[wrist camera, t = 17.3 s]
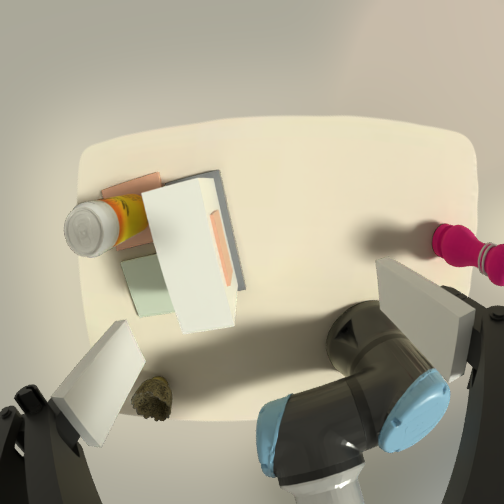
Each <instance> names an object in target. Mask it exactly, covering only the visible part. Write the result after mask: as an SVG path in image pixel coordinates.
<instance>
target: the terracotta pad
mask: <svg viewBox="0 0 504 504" xmlns="http://www.w3.org/2000/svg"><path fill="white" fill-rule="evenodd" d="M161 187H162V184H161V179H160V174H159V172H156V173H153V174H150V175H146V176H143V177H140V178H137V179H134V180H131V181H127V182H124V183H121V184H119V185H116V186H113V187H110V188H107V189H104V190H102V195H103V199H104V198H110V197H115V196H121V195H127V194H137V195H140V196H141V197H142V194H141V193H144V192H147V191H150V190H154V189H157V188H161ZM151 242H153V238H152V234H151V230H150V227H149V224H148V226H147V227H146V229H145V230H144V231H142V232H140V233H138V234H137V235H135V236H133V237H131V238H129V239H127V240H126V241H124V242H122V243H120V244H118V245H117V246H116V250H117V251H118V250H122V249H126V248H130V247H134V246H138V245H142V244H146V243H151Z"/></svg>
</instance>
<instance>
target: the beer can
mask: <svg viewBox="0 0 504 504" xmlns="http://www.w3.org/2000/svg"><path fill="white" fill-rule="evenodd" d="M148 224H149V223H148V219H147V215H146V211H145V207H144V202H143V198H142V197H141V196H140V195H137V194H127V195H121V196H115V197H110V198H104V199H99V200H94V201H88V202H83V203H80V204H78V205H77V206H76V207H74V209H73V210H72V211H71V212H70V213H69V215H68V216H67V218H66V220H65V225H64V235H65V239H66V241H67V244H68V246H69V247H70V249H71V250H72V251H73V252H74V253H76V254H77V255H79V256H83V257H89V258H93V257H97V256H99V255H101V254H103V253H104V252H106V251H108V250H110V249H111V248H113V247H115V246H117V245H118V244H120V243H122V242H124V241H126V240H127V239H129V238H131V237H133V236H135V235H137V234H138V233H140V232H142V231H144V230H145V229H146V227H147V226H148Z"/></svg>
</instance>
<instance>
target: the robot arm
mask: <svg viewBox="0 0 504 504" xmlns="http://www.w3.org/2000/svg"><path fill="white" fill-rule="evenodd" d="M376 269H377V279H378V289H379V301H367V302H363V303H360V304H358V305H355V306H353V307H352V308H350V309H349V310H347V311H346V312H344V313H343V314H342V315H341V316H340V317H339V318H338V319H337V321H336V322H335V323H334V325H333V326H332V328H331V330H330V332H329V334H328V338H327V343H326V348H327V353H328V356H329V358H330V361H331V363H332V365H333V366H334V367H335V368H336V369H337V370H338V371H339V372H340V373H342V374H343V375H344V376H345V378H342V379H339V380H337V381H334V382H331V383H328V384H325V385H322V386H319V387H316V388H313V389H310V390H306V391H303V392H300V393H297V394H293V393H292V394H289V395H287V397H283V398H280V399H277V400H274V401H271V402H268V403H267V404H265V405H264V406H263V407H262V409H261V410H260V412H259V415H258V419H257V427H256V445H257V453H258V459H259V462H260V463H261V468H262V471H263V473H264V474H265V475H266V476H268V477H272V478H275V477H278V481H279V485H280V488H281V489H284V490H286V491H287V492H289V493H291V494H292V495H294V497H295V501H296V504H365V503H364V499H363V495H362V492H361V488H360V485H359V481H358V475H359V473H360V472H361V470H362V468H363V467H364V465H365V461H364V457H363V454H362V452H363V451H366V450H368V449H371V448H373V447H375V446H378V445H379V447H380V448H381V449H382V450H384V451H385V452H388V453H393V452H394V451H396V452H399V451H401V450H404V449H406V448H408V447H410V446H412V445H413V444H415V443H417V442H418V441H419V440H421V439H422V438H423V437H424V436H426V435H427V434H428V433H429V432H430V431H431V430H432V429H433V428H434V427H435V426H436V424H437V423H438V422H439V421H440V419H441V418H442V417H443V415H444V413H445V411H446V409H447V407H448V404H449V401H450V389H449V386H448V385H447V383H446V381H447V382H448V383H450V382H452V381H453V380H455V379H457V378H459V377H460V376H462V375H464V372H465V368H466V363H467V362H468V363H469V364H470V365H471V366H472V367H473V368H472V372H471V376H470V379H469V383H468V386H467V389H469V397H468V405H467V412H466V417H465V423H464V428H463V433H462V438H461V442H460V446H459V450H458V454H457V458H456V462H455V465H454V469H453V472H452V475H451V479H450V482H449V485H448V487H447V490H446V493H445V496H444V499H443V501H442V504H504V306H491V307H489V308H485V307H484V306H482V305H480V304H479V303H477V302H476V301H474V300H472V299H471V298H469V297H468V298H467V296H466V295H464V294H463V293H462V294H461V292H459V291H458V290H456V289H454V288H451V287H447V286H438V285H437V284H435V283H433V282H432V281H430V280H428V279H427V278H425V277H423V276H422V275H420V274H418V273H417V272H415V271H413V270H411V269H410V268H408V267H406V266H404V265H403V264H401V263H399V262H397V261H396V260H394V259H392V258H390V257H389V256H388V257H385V258H382V259H378V260H376ZM145 362H146V361H145V359H144V357H143V355H142V353H141V351H140V348H139V346H138V344H137V342H136V340H135V338H134V336H133V333H132V331H131V329H130V327H129V324H128V322H127V320H121V321H115V322H114V323H113V325H112V326H111V327H110V328H109V329H108V330H107V331H106V332H105V333H104V335H103V336H102V337H101V338H100V339H99V340H98V341H97V342H96V344H95V345H94V346H93V347H92V348H91V349H90V350H89V352H88V353H87V354H86V355H85V356H84V357H83V359H82V360H81V361H80V362H79V363H78V364H77V366H76V367H75V368H74V369H73V370H72V372H71V373H70V374H69V375H68V376H67V378H66V379H65V380H64V381H63V382H62V384H61V385H60V386H59V387H58V389H57V390H56V391H55V392H54V394H53V395H52V396H51V399H50V400H49V401H48V402H47V401H46V400H45V398H44V397H43V395H42V394H41V392H40V391H39V389H38V388H37V386H36V385H28V386H25V387H23V388H22V389H21V390H19V391H18V392H17V393H16V395H15V397H14V399H15V400H16V402H17V403H18V405H19V406H20V407H21V409H22V410H23V411H24V413H25V414H22V415H21V414H20V413H19V411H18V410H17V409H16V407H14V406H9V407H5V408H3V409H2V411H1V412H0V504H102V502H101V500H100V497H99V495H98V492H97V490H96V487H95V484H94V482H93V479H92V476H91V474H90V471H89V468H88V465H87V462H86V458H85V455H84V452H83V448H82V446H81V445H80V444H79V442H78V439H79V438H80V436H81V438H82V439H83V440H84V441H85V442H86V443H87V445H88V446H94V447H102V446H103V444H104V441H105V439H106V437H107V435H108V433H109V431H110V429H111V427H112V425H113V423H114V421H115V419H116V417H117V415H118V414H119V412H120V410H121V408H122V406H123V404H124V402H125V400H126V398H127V396H128V394H129V392H130V390H131V388H132V387H133V385H134V383H135V381H136V379H137V377H138V375H139V373H140V372H141V370H142V368H143V366H144V364H145ZM441 375H442V376H443V377H442V376H441ZM444 379H445V380H446V381H445V380H444ZM15 443H16V444H17V446H18V447H19V448H20V449H21V450H22V451H23V452H24V456H21V455H20V454H19V453H18V452H17V450H16V449H15Z"/></svg>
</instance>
